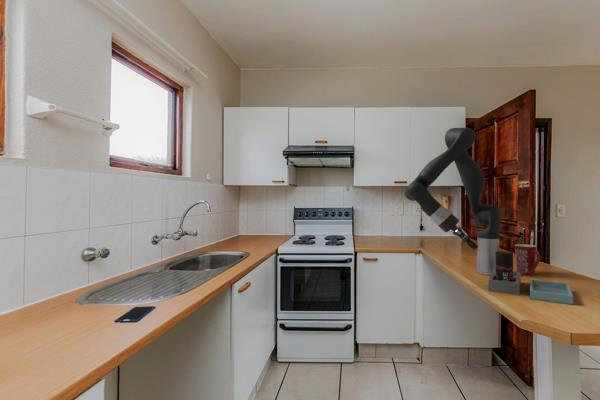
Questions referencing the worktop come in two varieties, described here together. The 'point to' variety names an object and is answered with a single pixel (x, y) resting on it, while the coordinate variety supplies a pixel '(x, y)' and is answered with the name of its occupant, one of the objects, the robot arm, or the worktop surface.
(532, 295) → the tray
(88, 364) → the worktop surface
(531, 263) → the mug
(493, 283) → the holder
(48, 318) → the worktop surface
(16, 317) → the worktop surface
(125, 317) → the cell phone
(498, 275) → the deodorant
